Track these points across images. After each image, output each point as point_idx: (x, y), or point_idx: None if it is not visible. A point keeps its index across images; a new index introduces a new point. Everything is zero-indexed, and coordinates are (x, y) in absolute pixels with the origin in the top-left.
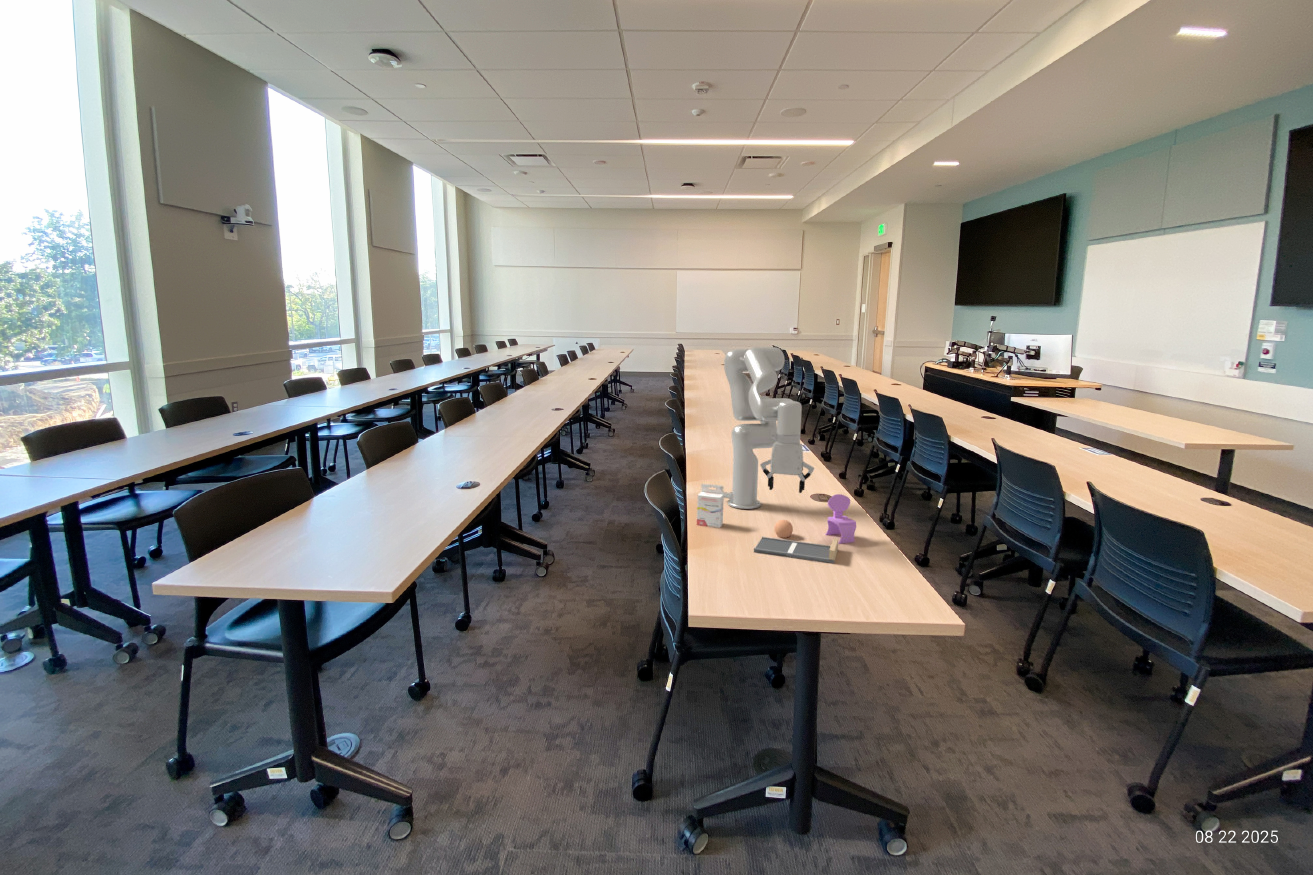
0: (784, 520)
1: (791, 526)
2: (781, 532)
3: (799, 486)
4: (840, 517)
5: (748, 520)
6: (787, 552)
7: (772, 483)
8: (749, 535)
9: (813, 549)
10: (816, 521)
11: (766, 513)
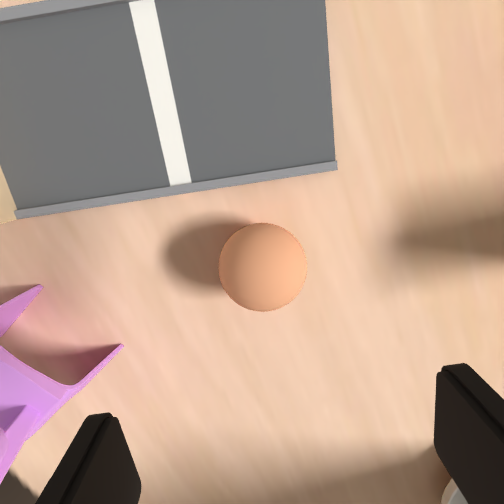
0: (261, 282)
1: (221, 272)
2: (258, 223)
3: (74, 487)
4: (8, 424)
5: None
6: (157, 19)
7: (482, 467)
8: (401, 200)
9: (75, 142)
10: (213, 476)
11: (400, 470)
